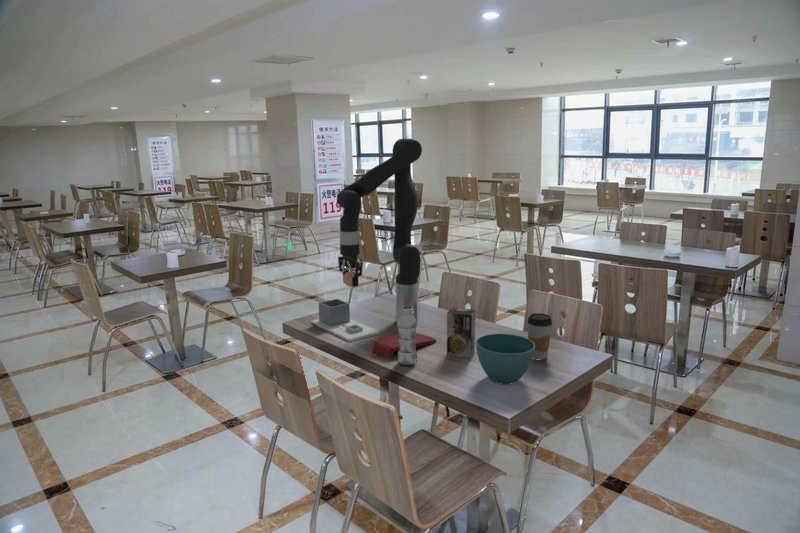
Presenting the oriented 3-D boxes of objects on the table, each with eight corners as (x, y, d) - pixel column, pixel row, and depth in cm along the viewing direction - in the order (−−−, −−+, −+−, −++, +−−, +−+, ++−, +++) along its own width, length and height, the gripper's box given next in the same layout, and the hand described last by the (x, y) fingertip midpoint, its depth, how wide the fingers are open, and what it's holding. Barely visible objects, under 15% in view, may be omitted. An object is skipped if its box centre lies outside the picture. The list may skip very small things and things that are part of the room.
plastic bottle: (417, 367, 186) (417, 310, 181) (397, 367, 186) (396, 310, 181) (417, 360, 192) (417, 305, 188) (397, 360, 192) (397, 304, 188)
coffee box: (475, 352, 199) (476, 309, 195) (471, 358, 193) (472, 314, 189) (450, 349, 202) (451, 307, 198) (445, 355, 196) (446, 312, 192)
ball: (359, 284, 219) (359, 269, 218) (356, 288, 213) (356, 273, 212) (344, 284, 220) (344, 269, 219) (341, 287, 214) (341, 272, 213)
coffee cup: (536, 363, 189) (538, 321, 185) (520, 355, 196) (522, 314, 193) (555, 359, 192) (557, 318, 189) (538, 351, 200) (541, 311, 196)
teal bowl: (490, 363, 189) (491, 329, 186) (541, 376, 179) (543, 340, 176) (465, 382, 174) (466, 345, 171) (519, 396, 164) (521, 358, 161)
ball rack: (311, 322, 232) (310, 302, 230) (339, 316, 241) (339, 296, 239) (349, 341, 210) (348, 319, 208) (379, 334, 218) (378, 312, 216)
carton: (412, 344, 218) (368, 352, 200) (414, 331, 218) (369, 339, 199) (436, 351, 210) (392, 361, 192) (438, 339, 210) (394, 347, 191)
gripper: (368, 243, 210) (369, 286, 213) (347, 239, 221) (348, 279, 224) (352, 246, 205) (353, 290, 209) (331, 241, 216) (332, 282, 220)
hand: (350, 284), depth 217 cm, fingers closed on ball, 6 cm apart
